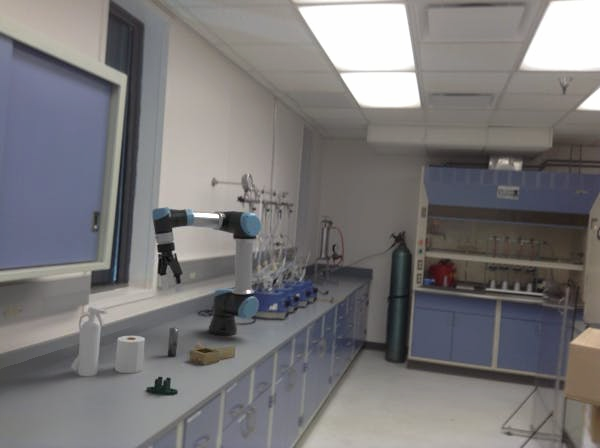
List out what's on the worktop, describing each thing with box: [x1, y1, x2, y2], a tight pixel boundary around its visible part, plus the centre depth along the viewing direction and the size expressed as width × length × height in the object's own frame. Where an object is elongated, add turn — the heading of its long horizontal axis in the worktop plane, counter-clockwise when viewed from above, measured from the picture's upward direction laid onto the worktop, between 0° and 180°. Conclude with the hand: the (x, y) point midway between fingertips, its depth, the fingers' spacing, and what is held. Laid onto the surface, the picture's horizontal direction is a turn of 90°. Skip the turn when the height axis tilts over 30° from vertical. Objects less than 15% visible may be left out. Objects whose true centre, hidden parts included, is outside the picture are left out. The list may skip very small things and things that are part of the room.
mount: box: [146, 376, 179, 396], centre depth 184 cm, size 11×4×5 cm, turn 85°
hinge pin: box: [167, 327, 179, 358], centre depth 228 cm, size 4×4×12 cm
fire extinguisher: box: [70, 306, 109, 377], centre depth 196 cm, size 7×12×25 cm, turn 77°
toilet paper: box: [114, 335, 146, 374], centre depth 205 cm, size 10×10×12 cm
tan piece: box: [189, 341, 236, 366], centre depth 232 cm, size 20×18×4 cm
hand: (172, 290), depth 233 cm, fingers open, 13 cm apart
